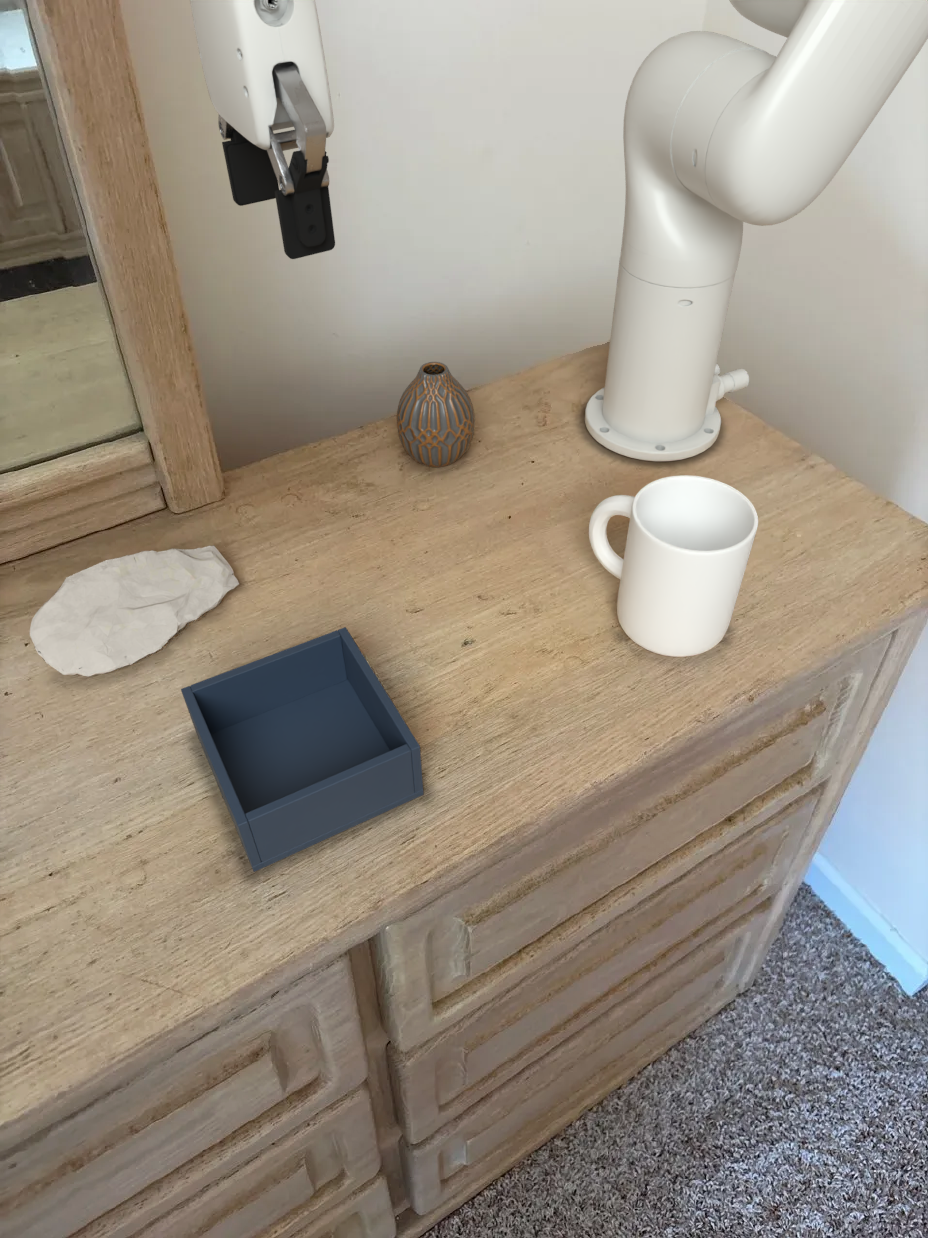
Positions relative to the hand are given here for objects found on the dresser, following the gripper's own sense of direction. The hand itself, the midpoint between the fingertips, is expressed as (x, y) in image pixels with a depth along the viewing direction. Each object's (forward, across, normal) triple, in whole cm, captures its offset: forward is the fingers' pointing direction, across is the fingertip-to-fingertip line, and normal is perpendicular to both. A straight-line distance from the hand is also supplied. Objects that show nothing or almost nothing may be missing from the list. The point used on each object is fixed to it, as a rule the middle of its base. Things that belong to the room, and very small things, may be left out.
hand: (282, 225), depth 60 cm
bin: (+24, -24, +12) cm, 36 cm away
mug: (+24, -23, -16) cm, 37 cm away
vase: (+24, +3, -12) cm, 27 cm away
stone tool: (+24, -6, +17) cm, 30 cm away
